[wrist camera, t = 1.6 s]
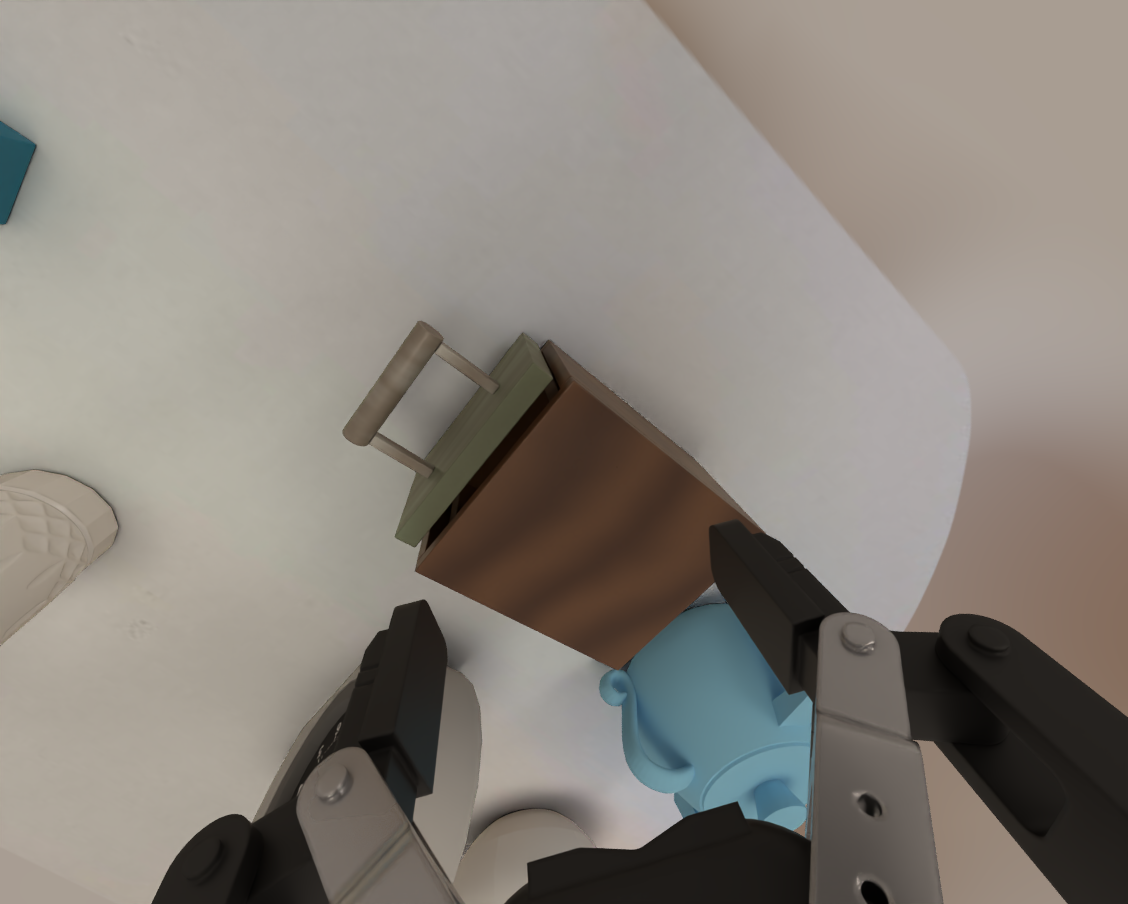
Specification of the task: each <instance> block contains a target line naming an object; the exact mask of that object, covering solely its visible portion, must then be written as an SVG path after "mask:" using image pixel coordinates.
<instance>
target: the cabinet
mask: <svg viewBox="0 0 1128 904" xmlns="http://www.w3.org/2000/svg"><path fill="white" fill-rule="evenodd" d="M540 351H541V353H542V355H543V357H544V360H545V362H546V364H547V366H548V368H549V369H550V370H551V371H552V372H553V375H554V377H555V379H556V381H557V383H558V385H559V387H560V390H559V391H558V392H557V393H556V395H555V396H554V397H553V398H552V400H551V401H550V402H549V403H548V404H547V406H546V407H545V408H544V409H543V410H542V412H541V413H540V414H539V415H538V416H537V418H536V419H535V420H534V421H533V422H532V424H531V425H530V426H529V427H528V428H527V430H526V431H525V432H524V433H523V434H522V436H521V437H520V438H519V439H518V441H517V442H516V443H515V444H514V445H513V447H512V448H511V449H510V450H509V451H508V453H507V454H506V455H505V456H504V457H503V459H502V460H501V461H500V462H499V463H498V465H497V466H496V467H495V468H494V469H493V471H492V472H491V473H490V474H489V476H488V477H487V478H486V479H485V480H484V482H483V483H482V484H481V485H480V486H479V488H478V489H477V490H476V491H475V492H474V494H473V495H472V496H471V497H470V498H469V500H468V501H467V502H466V503H465V504H464V506H463V507H462V508H461V509H460V511H459V512H458V513H457V514H456V515H455V517H454V518H453V519H452V520H451V521H450V523H449V520H450V514H451V508H452V503H451V504H450V505H449V506H448V508H447V509H446V510H445V511H444V513H443V514H442V515H441V516H440V518H439V519H438V520H437V521H436V522H435V524H434V525H433V526H432V527H431V529H430V530H429V531H428V532H427V533H426V535H425V536H424V537H423V539H422V543H421V547H420V551H419V555H418V559H417V564H416V569H415V571H416V572H417V573H419V574H421V575H423V576H425V577H427V578H429V579H431V580H434V581H436V582H438V583H440V584H442V585H444V586H446V587H448V588H450V589H452V590H454V591H456V592H458V593H460V594H462V595H464V596H466V597H468V598H470V599H472V600H474V601H476V602H479V603H481V604H483V605H485V606H487V607H489V608H491V609H493V610H495V611H497V612H499V613H501V614H503V615H505V616H507V617H509V618H511V619H513V620H515V621H517V622H519V623H521V624H524V625H526V626H528V627H530V628H532V629H534V630H536V631H538V632H540V633H542V634H544V635H546V636H548V637H550V638H552V639H554V640H556V641H558V642H560V643H562V644H564V645H566V646H569V647H571V648H573V649H575V650H577V651H579V652H581V653H583V654H585V655H587V656H589V657H591V658H593V659H595V660H597V661H599V662H601V663H603V664H605V665H607V666H609V667H611V668H613V669H616V670H619V669H621V668H622V667H623V666H624V665H625V664H626V663H627V662H628V661H629V660H630V659H631V658H633V657H634V656H635V655H636V654H637V653H638V652H639V651H640V650H641V649H642V648H643V647H645V646H646V645H647V644H648V643H649V642H650V641H651V640H652V639H653V638H654V637H655V636H657V635H658V634H659V633H660V632H661V631H662V630H663V629H664V628H665V627H666V626H667V625H669V624H670V623H671V622H672V621H673V620H674V619H675V618H676V617H677V616H678V615H679V614H681V613H682V612H683V611H684V610H685V609H686V608H687V607H688V606H689V605H690V604H691V603H693V602H694V601H695V600H696V599H697V598H698V597H699V596H700V595H701V594H702V593H703V592H705V591H706V590H707V589H708V588H709V587H710V586H711V585H712V584H713V583H714V582H715V581H714V578H713V575H712V571H711V561H710V545H709V527H710V526H711V525H715V524H718V523H722V522H726V521H730V520H734V519H738V520H739V521H740V522H741V523H742V524H743V525H744V526H745V527H746V528H747V529H748V530H749V531H750V533H751V534H756V533H760V532H762V533H764V534H766V533H765V532H764V531H763V530H762V529H761V528H760V527H759V526H758V525H757V524H756V523H755V522H754V521H753V520H752V519H751V517H750V516H749V515H748V514H747V513H746V512H745V511H744V510H743V509H742V508H741V507H740V506H739V505H738V504H737V503H736V502H735V501H734V500H733V499H732V498H731V497H730V496H729V495H728V493H727V492H726V491H725V490H724V489H723V488H722V487H721V486H720V485H719V484H718V483H717V482H716V481H715V480H714V479H713V478H712V477H711V476H710V475H709V474H708V473H707V472H706V470H705V469H704V468H703V467H702V466H701V465H700V464H699V463H698V462H697V461H696V460H695V459H693V458H692V457H691V456H690V455H689V454H687V453H686V452H685V451H684V450H683V449H681V448H680V447H679V446H678V445H676V444H675V443H674V442H673V441H672V440H670V439H669V438H668V437H667V436H666V435H664V434H663V433H662V432H661V431H659V430H658V429H657V428H656V427H655V426H653V425H652V424H651V423H650V422H649V421H647V420H646V419H645V418H644V417H642V416H641V415H640V414H639V413H638V412H636V411H635V410H634V409H633V408H632V407H630V406H629V405H628V404H627V403H625V402H624V401H623V400H622V399H621V398H619V397H618V396H617V395H616V394H615V393H613V392H612V391H611V390H610V389H608V388H607V387H606V386H605V385H604V384H602V383H601V382H600V381H599V380H598V379H596V378H595V377H594V376H593V375H591V374H590V373H589V372H588V371H587V370H585V369H584V368H583V367H582V366H581V365H579V364H578V363H577V362H576V361H574V360H573V359H572V358H571V357H570V356H568V355H567V354H566V353H565V352H564V351H562V350H561V349H560V348H559V347H557V346H556V345H555V344H554V343H553V342H551V341H550V340H548V341H547V342H546V343H545V345H544V346H543V347H542V349H541V350H540Z"/></svg>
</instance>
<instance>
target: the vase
mask: <svg viewBox="0 0 1128 904" xmlns="http://www.w3.org/2000/svg"><path fill="white" fill-rule="evenodd" d="M579 847H584V848H596V846H595V844H594V842H593V841H592V840H591V839H590V838H589V837H588V836H587V835H586V834H585V833H584V832H583V831H582V830H581V829H580V828H579V827H578V826H577V825H576V824H575V823H574V822H573V821H572V820H570V819H568V818H566V817H565V816H563V815H561V814H559V813H557V812H555V811H551V810H546V809H528V810H521V811H517V812H514V813H511V814H508V815H506V816H503V817H501V818H499V819H498V820H496V821H495V822H493V823H492V824H490V825H489V826H488V827H487V828H486V829H485V830H484V831H483V832H482V833H481V834H480V835H479V836H478V837H477V839H476V840H475V841H474V842H473V843H472V844H471V846H470V848H469V849H468V851H467V852H466V854H465V855H464V857H463V859H462V860H461V862H460V863H459V866H458V869H457V872H456V876H455V879H454V882H453V886H454V887H455V889H456V890H457V892H458V894H459V895H460V897H461V898H462V900H463V901H464V903H465V904H504V903H505V902H506V901H507V900H508V899H509V898H510V897H511V896H512V895H513V894H514V893H515V892H516V891H518V890H519V889H520V888H521V887H522V886H524V885H525V884H527V883H528V873H527V863H528V862H531V861H535V860H538V859H541V858H545V857H548V856H552V855H555V854H558V853H562V852H565V851H569V850H572V849H576V848H579Z"/></svg>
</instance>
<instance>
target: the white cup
mask: <svg viewBox="0 0 1128 904" xmlns="http://www.w3.org/2000/svg"><path fill="white" fill-rule="evenodd" d="M117 530H118V525H117V522H116V519H115V516H114V514H113V511H112V508H111V507H110V506H109V505H108V504H107V503H106V502H105V501H104V500H103V499H102V498H101V497H100V496H99V495H98V494H97V493H96V492H95V491H94V490H93V489H91V488H89V487H87V486H86V485H84V484H82V483H80V482H78V481H76V480H74V479H72V478H70V477H68V476H65V475H61V474H55V473H50V472H45V471H39V470H29V471H22V472H15V473H8V474H4V475H2V476H0V646H1V645H2V644H3V643H4V642H5V641H7V640H8V639H9V638H10V637H11V636H12V635H14V634H15V633H16V632H17V631H18V630H19V629H20V628H22V627H23V626H24V625H25V624H26V623H27V622H29V621H30V620H31V619H32V618H33V617H34V616H36V615H37V614H38V613H39V612H40V611H41V610H42V609H44V608H45V607H46V606H47V605H48V604H49V603H50V602H52V601H53V600H54V599H55V598H56V597H57V596H58V595H59V594H60V593H61V592H62V591H63V590H65V589H66V588H67V587H68V586H69V585H70V584H71V583H72V582H73V581H74V580H75V579H76V577H77V576H78V575H79V574H80V573H81V572H82V571H83V570H84V569H85V568H86V567H87V566H89V565H90V564H91V563H92V562H93V561H94V560H96V559H97V558H98V557H99V556H100V555H102V554H103V553H104V552H105V551H106V550H107V549H109V548H110V547H111V546H112V545H113V542H114V539H115V536H116V533H117Z"/></svg>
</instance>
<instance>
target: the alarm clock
mask: <svg viewBox="0 0 1128 904" xmlns="http://www.w3.org/2000/svg"><path fill="white" fill-rule="evenodd" d="M360 666H361V665H360ZM360 666H359V667H358V668H357V669H356V670H355V671H354V672H353V673H352V675H351V676H350V677H349V678H348V679H347V680H346V681H345V682H344V683H343V685H342V686H341V687H340V688H339V689H338V690H337V691H336V692H335V693H334V695H333V696H332V697H331V698H330V699H329V700H328V701H327V702H326V703H325V705H324V706H323V707H322V708H321V709H320V710H319V711H318V712H317V713H316V715H315V716H314V717H313V718H312V719H311V720H310V721H309V722H308V723H307V725H306V726H305V727H304V728H303V730H302V731H301V733H300V734H299V736H298V738H297V739H296V741H295V742H294V744H293V746H292V747H291V749H290V751H289V753H288V755H287V756H286V758H285V760H284V762H283V764H282V765H281V767H280V769H279V771H278V773H277V774H276V776H275V778H274V780H273V782H272V783H271V785H270V787H269V789H268V791H267V793H266V795H265V797H264V799H263V801H262V803H261V805H260V807H259V809H258V811H257V813H256V815H255V817H254V819H253V821H252V823H254V822H255V821H257V820H258V819H260V818H262V817H263V816H265V815H267V814H268V813H270V812H272V811H273V810H275V809H277V808H278V807H280V806H282V805H283V804H285V803H287V802H288V801H290V800H292V799H293V798H295V797H296V796H298V795H299V793H300V791H301V789H302V787H303V785H304V783H305V781H306V780H307V778H308V777H309V775H310V774H311V772H312V771H313V770H314V769H315V768H316V767H317V766H318V765H319V764H320V763H321V762H322V761H323V760H324V759H326V758H327V757H328V756H330V755H331V754H332V753H333V751H334V748H335V745H336V742H337V739H338V735H339V732H340V729H341V726H342V723H343V720H344V716H345V713H346V710H347V707H348V704H349V701H350V698H351V694H352V691H353V689H354V688H355V682H356V679H357V676H358V673H359V672H360ZM481 747H482V732H481V716H480V706H479V703H478V700H477V696H476V693H475V690H474V687H473V685H472V683H471V682H470V681H469V680H468V679H467V678H466V677H465V676H464V675H463V674H462V673H461V672H459V671H457V670H454V669H452V668H450V667H447V668H446V677H445V687H444V696H443V705H442V714H441V723H440V732H439V741H438V750H437V759H436V768H435V777H434V786H433V794H430V795H427V796H423V797H419V798H416V801H415V808H414V815H413V820H414V821H415V823H416V825H417V826H418V828H419V830H420V831H421V833H422V834H423V836H424V838H425V839H426V841H427V843H428V844H429V846H430V848H431V849H432V851H433V853H434V854H435V856H436V858H437V859H438V861H439V862H440V864H441V866H442V867H443V869H444V871H445V872H446V874H447V876H448V877H449V879H450V881H451V882H452V884H453V882H454V879H455V876H456V872H457V869H458V866H459V863H460V860H461V857H462V854H463V851H464V847H465V844H466V840H467V835H468V830H469V826H470V821H471V816H472V812H473V807H474V802H475V798H476V793H477V788H478V779H479V768H480V758H481Z"/></svg>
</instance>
